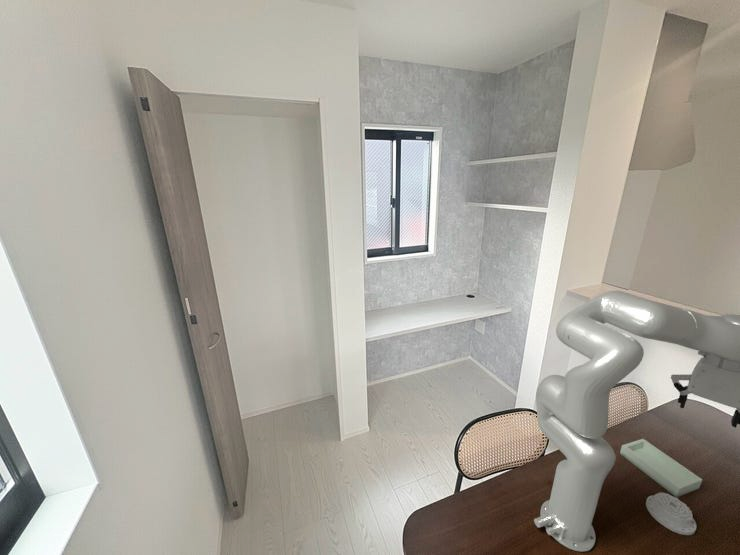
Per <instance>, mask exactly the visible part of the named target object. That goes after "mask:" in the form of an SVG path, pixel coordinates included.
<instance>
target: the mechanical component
mask: <svg viewBox="0 0 740 555" xmlns="http://www.w3.org/2000/svg"><path fill="white" fill-rule="evenodd" d="M645 501H646V502H645V507H646V509H647V511H648V512H649V514H650V515H651V517H653V519H654V520H655V521H656V522H658V523H659V524H660V525H662V526H664V527H665V528H666V529H668V530H669V531H672V532H673V533H676V534H679V535H683V536H692V535H693V534H695V532H696V531H697V523H696V520H695V519H694V518H693V512H692V511H693V510H690V507H689V506H687V504H686V502H685V503H684V502H683V501H681V500H680V499H679V497H675V496H674V495H673V496H672V495H671V494H669V493H668V492H667V493H666V492H664V491H663V492H660V491H659V492H658V493H655V494H654V495H651V494H650V496H647V498H646V500H645Z"/></svg>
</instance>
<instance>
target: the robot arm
mask: <svg viewBox="0 0 740 555" xmlns="http://www.w3.org/2000/svg"><path fill="white" fill-rule="evenodd" d="M608 324H609V325H608ZM610 325H611V326H610ZM613 326H614V327H615V328H614V327H613ZM617 328H618V329H617ZM619 329H620V330H619ZM621 330H623V331H625V332H628V333H629V334H627V333H625V332H623V331H621ZM555 333H556V336H557V338H558V340H559V341H560V342H561V343H562V344H563V345H565V346H566V347H568V348H570V349H572V350H574V351H575V352H577V353H579V354H580V355H582V356H584V357H585V358H588V360H589V361H587V362H585V363H583V364H580V365H578V366H574V367H572V368H571V369H569V370H567V372H566V373H565V374H564V376H562V375H560V374H551V375H547V376H546V377H544V378H543V379H542V380H541V381H540V382H539V384H538V387H537V389H536V393H535V401H536V413H537V415H536V416H537V417H536V418H537V425H538V427H539V430H540V432H542V433H543V435H544V436H545V437H546V438H547V439H548V440H549V441H550V442H551V443H552V444H553V445H554V446H555V447H556V448H557V449H558V450H559V451H560V452H561V453H562V454H563V455H564V456H565V458H566V459H563V460H561V461H559V463H558V464H557V466H556V469H555V474H554V479H553V483H552V488H551V492H550V498H549V499H548V500H546V501H545V502H543V503H542V505H541V507H540V516H539V517H536V518H534V519H533V522H534V524H535V526H536V527H537V528H542V527H544V528H545V531H546V533H547V535H548V536H552V538H553V539H554V540H555V541H557V542H558V543H559V544H560V545H562V546H564V547H566V548H567V549H570V550H572V551H575V552H581V553H582V552H589V551H590V550H591V549H592V548H593V547H594V545H595V543H596V532H595V529H594V526H593V525H592V523H593V519H594V516H595V513H596V509H597V506H598V502H599V498H600V494H601V491H602V489H603V488H602V487H603V485H604V483H605V479H606V478H607V476H608V475H609V473H610V471H611V470H612V469H613V467H614V466H615V463H616V454H615V451H614V449H613V447H612V446H611V445H610V444H609V443H608V441H606V440H605V438H603V436H604V435H605V433H606V432H607V429H608V425H609V414H610V413H609V412H610V411H609V409H610V394H611V391H612V389H613V388H614V387H615V386H616V385H617V384H618V383H619V382H621V381H622V380H624V379H625V378H626V377H628V375H630V374H631V373H632V372H633V371H634V370H636V369H637V368H638V366H640V364H641V363H642V361H643V358H644V355H645V354H644V348H643V346H642V344H641V342H639V341H638V340H637V339H635V338H634V337H633V336H631V335H630V334H632V335H634V336H637V337H640V338H644V339H648V340H653V341H659V342H664V343H669V344H674V345H678V346H681V347H685V348H687V349H692V350H695V351H698V352H697V355H700V356H702V357H701V358H700V359H699V360H698V361H697V363H696V364H695V366H694V368H693V371H692V372H691V374H671V375H670V379H671V382H672V384H673V387H674V388H675V389H676V390H677V391H678V392H679V397H678V399H677V403H679V404H680V405H679V408H681V409H684V408H685V405H686V402H687V400H688V396H689V395H690V394H692V395H693V396H697V397H700V398H703V399H706V400H709V401H712V402H715V403H718V404H721V405H723V406H727V407H730V408H733V409H735V410H734V413H733V415H732V417H731V421H730V424H731V426H732V428H735V429H736V428H737V427H738V425H740V314H733V313H729V314H728V313H727V314H726V313H725V314H723V315H720V316H719V315H706V314H703V313H701V312H698V311H694V310H690V309H687V308H683V307H679V306H673V305H671V304H667V303H662V302H659V301H655V300H652V299H649V298H644V297H641V296H638V295H634V294H632V293H628V292H625V291H622V290H610V291H608V292H607V291H606V292H603V293H602V294H600V295H597V296H595V297H593V298H592V299H590V300H588V301H586V302H585V303H583V304H581V305H580V306H578V307H576V308H574V309H573V310H571V311H570V312H567V314H565V315H564V316H563V317H562V318H561V319H560V320H559V322H558V323H557V326H556V329H555ZM680 381H688V383H687V385H682V383H681V382H680Z"/></svg>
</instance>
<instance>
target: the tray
mask: <svg viewBox="0 0 740 555" xmlns="http://www.w3.org/2000/svg"><path fill="white" fill-rule="evenodd" d="M619 454H620V455H621V456H623V457H624V458H626V460H628V461H629V462H630V463H632V464H633V465H634V466H635V467H637V468H638V469H640V470H641V471H642V472H643V473H645V475H646V476H649V477H650V478H651V479H652V480H653V481H655V483H657V484H659V485H660V486H661V487H662V488H663V489H665V490H666V491H667V492H669V493H670V495H671V494H672V495H673V497H677V498H679V497H681V496H684V495H685V494H688V493H690V492H693V491H696V490H698V489H700V486H701V485H702V483H703V478H701V477H699V476H698V475H696V473H694V472H692V471H691V470H690V469H688V468H686V467H685V466H684V465H682V464H681V463H679V462H678V461H677V460H675V459H674V458H672V457H671V456H669V455H668V454H666V453H664V452H663V451H662V450H661V449H659V448H658V447H656V446H654V445H653V444H652V443H650V442H649V441H648V440H645V439H644V438H641V439H637V440H635V441H631V442H628V443H625V444H621V448H620V451H619Z"/></svg>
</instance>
